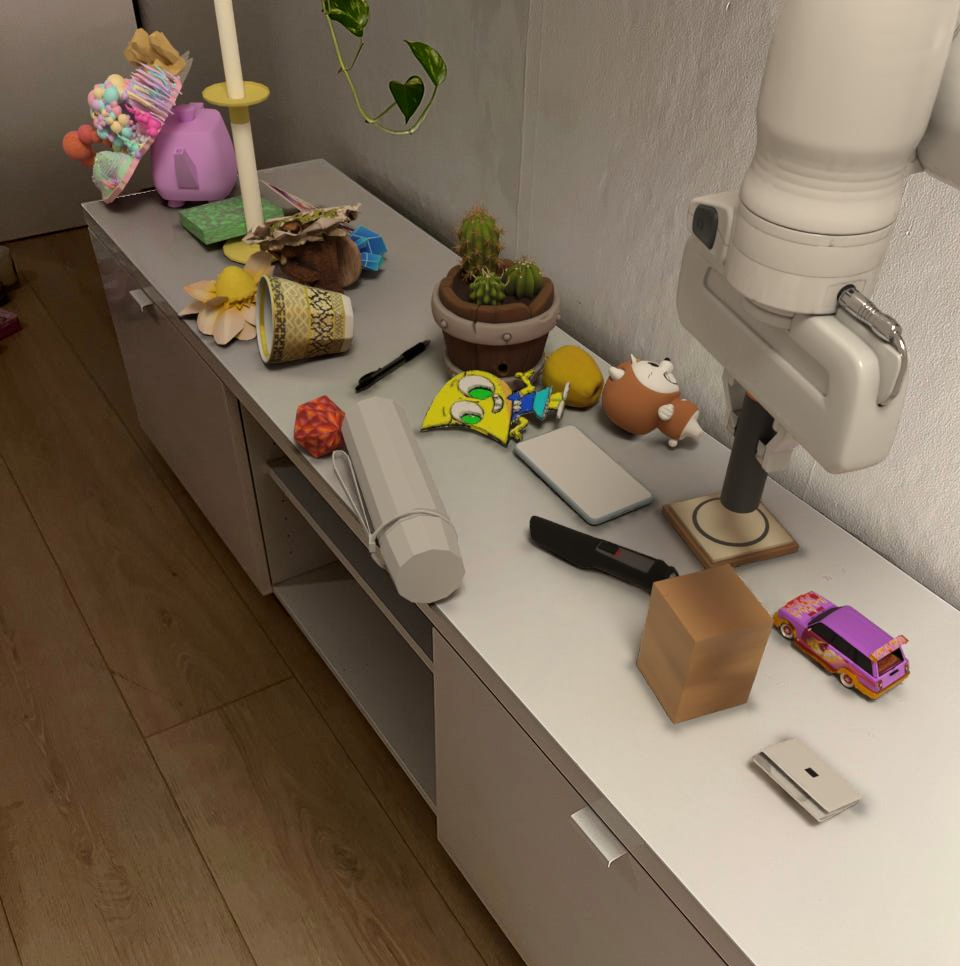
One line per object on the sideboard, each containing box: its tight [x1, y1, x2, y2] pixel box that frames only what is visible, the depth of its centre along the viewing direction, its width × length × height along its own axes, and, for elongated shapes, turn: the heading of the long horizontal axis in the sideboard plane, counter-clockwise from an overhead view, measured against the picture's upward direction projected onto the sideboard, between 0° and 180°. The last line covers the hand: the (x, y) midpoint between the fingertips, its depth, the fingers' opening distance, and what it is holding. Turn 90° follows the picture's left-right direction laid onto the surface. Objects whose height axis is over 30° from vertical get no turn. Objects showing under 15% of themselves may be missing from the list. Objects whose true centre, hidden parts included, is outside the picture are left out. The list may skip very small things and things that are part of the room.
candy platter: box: [61, 27, 194, 205], centre depth 143 cm, size 25×24×9 cm
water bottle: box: [331, 396, 466, 604], centre depth 97 cm, size 9×8×25 cm
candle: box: [201, 0, 279, 265], centre depth 127 cm, size 10×10×38 cm
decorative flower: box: [177, 250, 287, 345], centre depth 127 cm, size 15×11×10 cm
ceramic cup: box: [256, 275, 355, 365], centre depth 120 cm, size 13×10×10 cm
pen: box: [354, 339, 431, 392], centre depth 120 cm, size 14×2×1 cm, turn 144°
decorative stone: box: [293, 394, 346, 459], centre depth 106 cm, size 6×7×8 cm
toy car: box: [772, 590, 911, 700], centre depth 87 cm, size 6×12×5 cm, turn 35°
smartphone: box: [513, 424, 655, 526], centre depth 105 cm, size 8×1×15 cm
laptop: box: [751, 737, 863, 823], centre depth 78 cm, size 7×6×2 cm
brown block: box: [636, 564, 774, 725], centre depth 82 cm, size 7×7×10 cm
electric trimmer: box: [529, 515, 680, 593], centre depth 95 cm, size 4×16×3 cm, turn 58°
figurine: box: [601, 353, 704, 448], centre depth 109 cm, size 9×9×12 cm
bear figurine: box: [241, 201, 363, 295], centre depth 128 cm, size 14×15×12 cm
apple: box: [541, 344, 605, 408], centre depth 114 cm, size 6×6×8 cm
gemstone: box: [335, 224, 389, 288], centre depth 135 cm, size 7×9×12 cm
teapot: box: [150, 101, 238, 208], centre depth 148 cm, size 20×12×13 cm, turn 3°
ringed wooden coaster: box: [661, 492, 800, 570], centre depth 100 cm, size 10×10×1 cm
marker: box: [720, 390, 777, 514], centre depth 67 cm, size 3×3×11 cm
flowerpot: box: [430, 197, 562, 397], centre depth 112 cm, size 14×15×20 cm
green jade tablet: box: [177, 194, 285, 245], centre depth 143 cm, size 11×12×2 cm
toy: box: [420, 370, 571, 449], centre depth 110 cm, size 10×1×15 cm
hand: (753, 448), depth 68 cm, fingers closed on marker, 3 cm apart
